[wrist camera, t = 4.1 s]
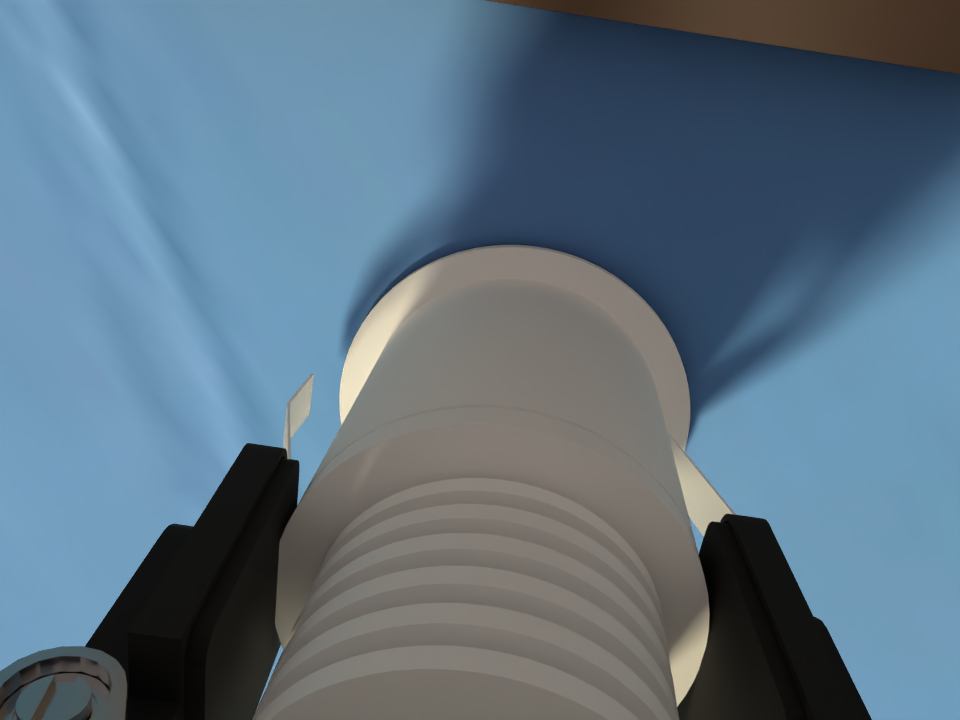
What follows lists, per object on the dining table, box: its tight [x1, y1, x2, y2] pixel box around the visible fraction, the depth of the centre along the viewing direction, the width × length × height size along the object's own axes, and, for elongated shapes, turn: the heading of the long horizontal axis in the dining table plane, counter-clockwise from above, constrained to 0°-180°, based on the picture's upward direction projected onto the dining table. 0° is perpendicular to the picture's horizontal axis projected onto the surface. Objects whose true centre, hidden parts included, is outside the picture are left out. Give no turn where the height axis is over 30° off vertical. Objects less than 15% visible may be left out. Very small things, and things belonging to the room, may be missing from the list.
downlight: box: [252, 245, 736, 720], centre depth 13 cm, size 8×7×10 cm
